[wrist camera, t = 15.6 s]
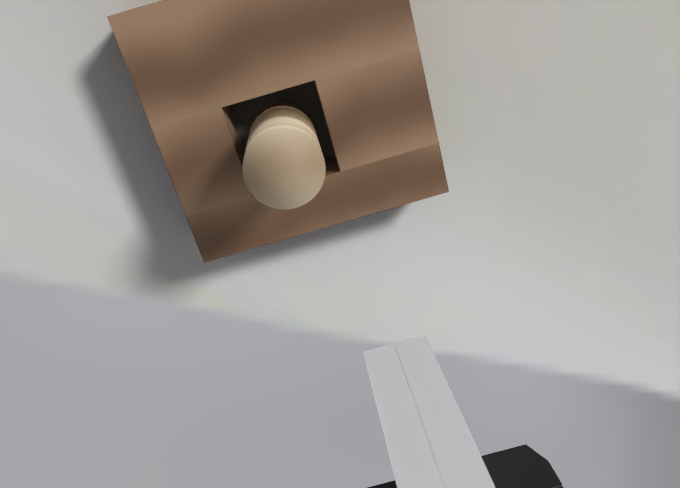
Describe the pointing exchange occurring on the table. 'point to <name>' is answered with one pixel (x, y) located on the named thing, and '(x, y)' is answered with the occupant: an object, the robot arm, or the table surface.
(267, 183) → the peg
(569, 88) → the table surface
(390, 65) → the board
